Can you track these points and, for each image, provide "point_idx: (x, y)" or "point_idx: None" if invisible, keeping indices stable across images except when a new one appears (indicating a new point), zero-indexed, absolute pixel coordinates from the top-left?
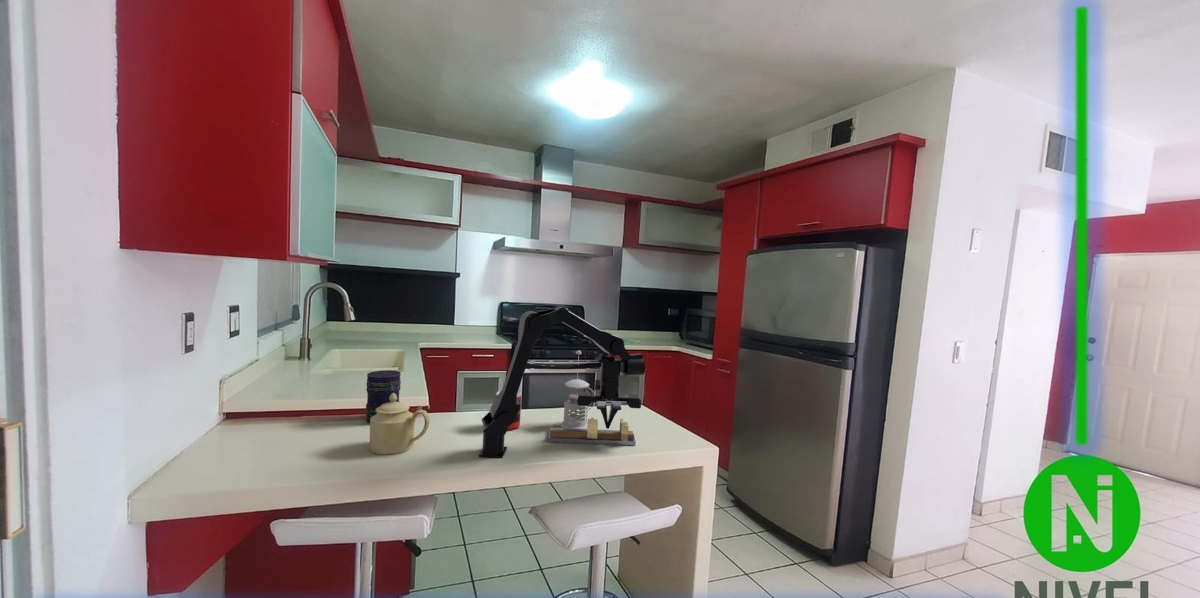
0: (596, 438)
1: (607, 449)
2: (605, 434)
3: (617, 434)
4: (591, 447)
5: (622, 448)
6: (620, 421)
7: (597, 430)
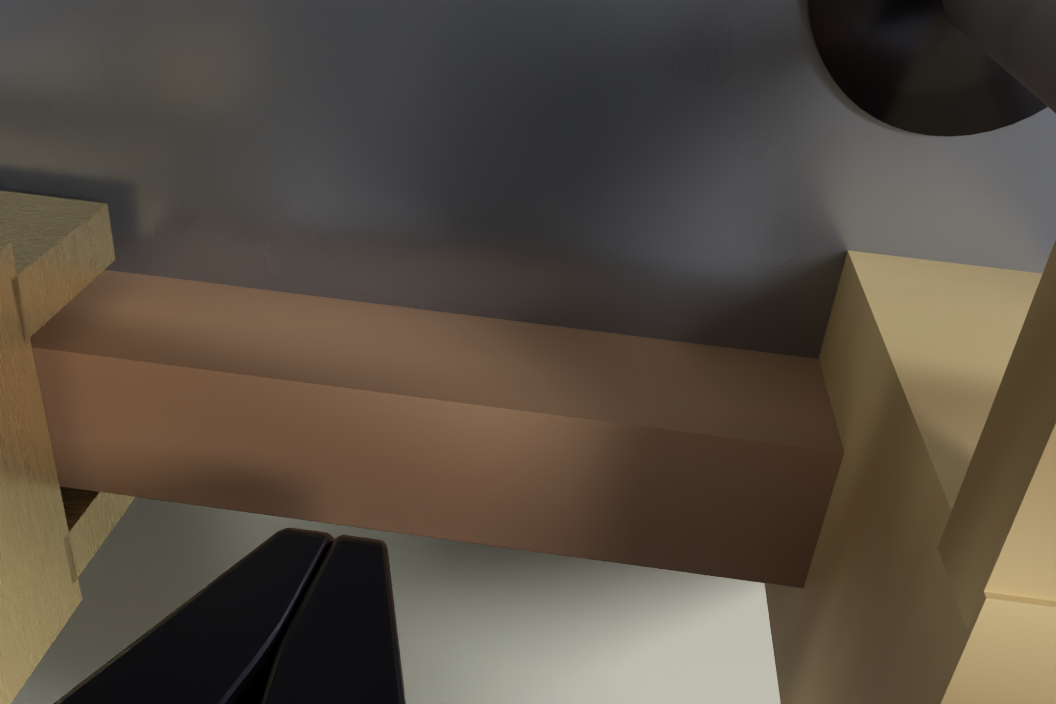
0: None
1: (423, 659)
2: (333, 510)
3: (694, 570)
4: (109, 564)
5: (741, 643)
6: (1019, 435)
7: (30, 673)
